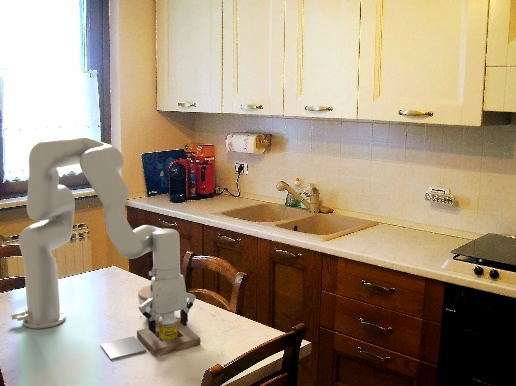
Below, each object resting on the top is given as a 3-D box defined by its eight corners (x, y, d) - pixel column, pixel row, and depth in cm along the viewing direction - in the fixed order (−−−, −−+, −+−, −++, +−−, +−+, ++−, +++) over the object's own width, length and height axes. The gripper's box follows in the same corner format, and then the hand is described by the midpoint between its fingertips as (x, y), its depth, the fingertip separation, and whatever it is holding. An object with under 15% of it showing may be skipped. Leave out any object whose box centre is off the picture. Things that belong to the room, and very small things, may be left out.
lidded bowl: (159, 307, 191) (158, 275, 189) (186, 316, 184) (186, 283, 182) (130, 319, 181) (129, 286, 179) (158, 329, 174) (158, 295, 171)
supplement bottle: (172, 335, 170) (172, 305, 168) (180, 342, 165) (180, 311, 163) (156, 340, 167) (155, 309, 165) (163, 347, 162) (162, 315, 160)
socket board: (154, 356, 157) (154, 349, 156) (137, 337, 168) (136, 330, 168) (200, 345, 164) (200, 338, 163) (180, 327, 175) (180, 320, 175)
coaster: (111, 360, 154) (110, 358, 154) (100, 346, 162) (100, 344, 162) (146, 351, 159) (145, 349, 159) (133, 338, 168) (133, 336, 168)
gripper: (142, 281, 154) (144, 339, 158) (200, 270, 163) (200, 326, 166) (133, 273, 160) (135, 330, 164) (188, 263, 169) (190, 317, 173)
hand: (168, 328), depth 165 cm, fingers open, 9 cm apart
